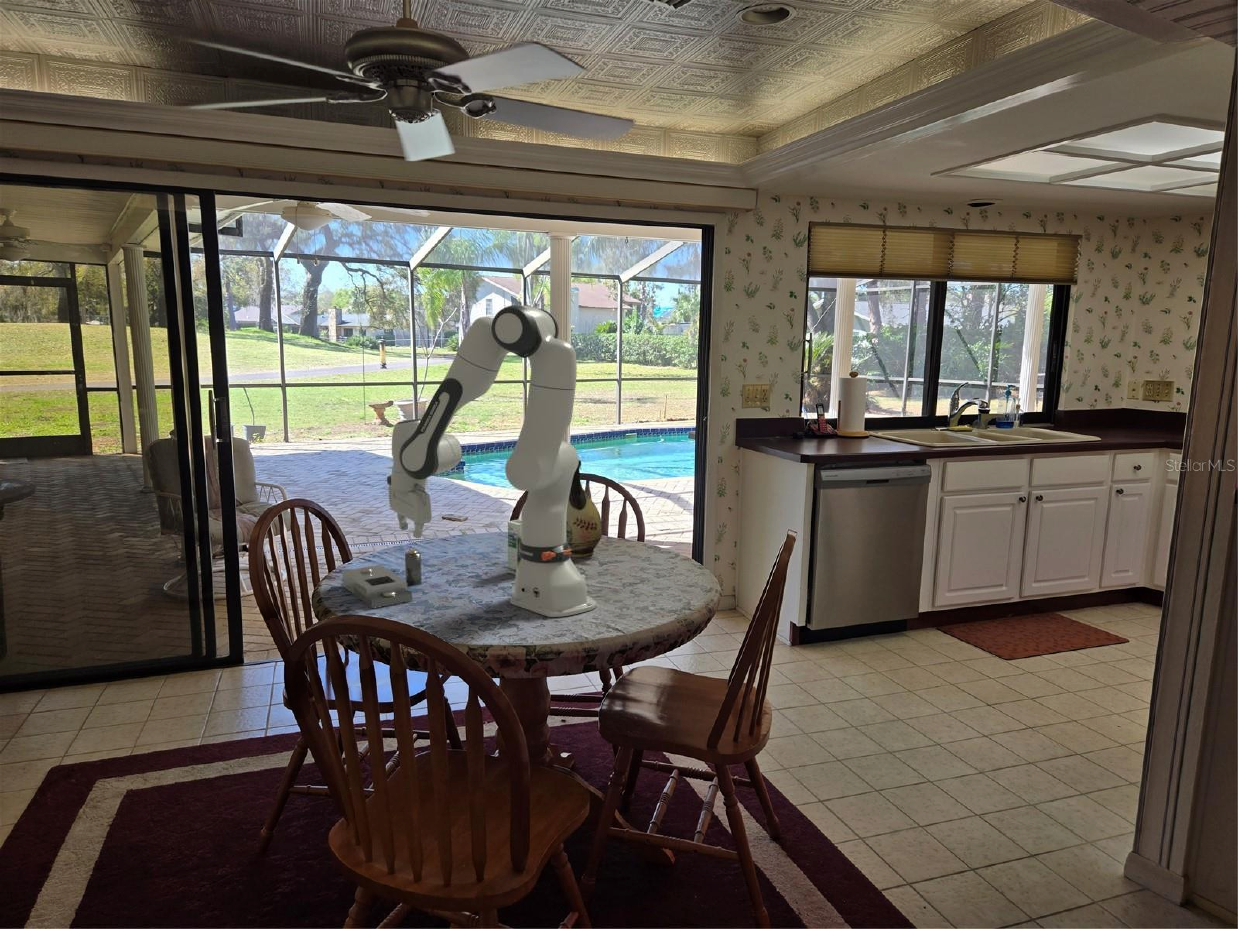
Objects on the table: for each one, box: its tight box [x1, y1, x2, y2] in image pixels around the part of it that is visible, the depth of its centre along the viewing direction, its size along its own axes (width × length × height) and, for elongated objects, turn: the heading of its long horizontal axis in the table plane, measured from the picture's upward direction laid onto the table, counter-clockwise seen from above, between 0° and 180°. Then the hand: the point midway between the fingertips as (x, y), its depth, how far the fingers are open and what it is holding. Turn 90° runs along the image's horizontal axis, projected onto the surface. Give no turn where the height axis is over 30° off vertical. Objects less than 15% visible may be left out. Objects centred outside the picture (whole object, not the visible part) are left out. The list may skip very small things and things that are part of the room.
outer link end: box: [341, 564, 408, 598], centre depth 196 cm, size 19×10×5 cm, turn 37°
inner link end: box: [353, 588, 413, 609], centre depth 191 cm, size 13×10×3 cm
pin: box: [404, 549, 422, 586], centre depth 203 cm, size 4×4×9 cm
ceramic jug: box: [566, 459, 604, 558], centre depth 231 cm, size 17×15×30 cm
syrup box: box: [507, 519, 522, 576], centre depth 213 cm, size 6×6×14 cm
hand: (410, 533), depth 202 cm, fingers open, 8 cm apart
